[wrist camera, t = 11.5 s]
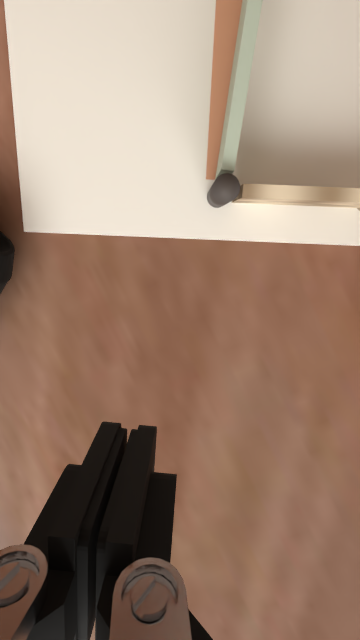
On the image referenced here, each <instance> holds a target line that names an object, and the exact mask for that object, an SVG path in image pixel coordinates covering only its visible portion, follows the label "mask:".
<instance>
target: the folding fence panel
mask: <svg viewBox="0 0 360 640" xmlns="http://www.w3.org/2000/svg"><path fill="white" fill-rule="evenodd" d="M262 1H263V0H242V6H241V13H240V19H239V26H238V32H237V39H236V46H235V52H234V59H233V65H232V72H231V78H230V85H229V91H228V98H227V105H226V111H225V118H224V124H223V131H222V137H221V144H220V150H219V157H218V164H217V170H216V177H215V180H216V178H217V177H218V176H220V175H221V174H224V173H230V174H232V173H233V172H234V170H235V164H236V158H237V152H238V146H239V140H240V134H241V128H242V121H243V115H244V109H245V103H246V97H247V91H248V85H249V79H250V73H251V67H252V61H253V55H254V49H255V43H256V37H257V31H258V25H259V19H260V13H261V7H262Z"/></svg>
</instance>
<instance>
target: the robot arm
mask: <svg viewBox="0 0 360 640" xmlns="http://www.w3.org/2000/svg"><path fill="white" fill-rule="evenodd" d="M156 434H157V427H155V426H145V425H139V427H138V430H135V429H132V430H131V433H130V436H129V439H128V442H127V429H124V428H121V423H112V422H102V424H101V426H100V428H99V430H98V432H97V434H96V436H95V438H94V440H93V442H92V444H91V447H90V449H89V451H88V453H87V455H86V457H85V459H84V461H83V463H82V465H74V464H69V465H67V466H66V468H65V469H64V471H63V473H62V475H61V477H60V478H59V480H58V482H57V484H56V486H55V488H54V489H53V491H52V493H51V495H50V497H49V499H48V500H47V502H46V504H45V506H44V508H43V510H42V512H41V513H40V515H39V517H38V519H37V521H36V523H35V524H34V526H33V528H32V530H31V532H30V534H29V535H28V537H27V539H26V541H25V543H24V545H23V544H20V545H14V546H9V547H7V548H4V549H2V550H0V640H90V637H91V634H92V630H93V626H94V622H95V618H96V625H95V640H213V639H212V638H211V637H210V635H209V634H208V633H207V632H206V630H205V629H204V628H203V627H202V625H201V624H200V623H199V622H198V621H197V619H196V618H195V617H194V616H193V614H192V613H191V612H190V611H189V609H188V603H187V594H186V588H185V584H184V581H183V578H182V577H181V575H180V573H179V572H178V570H177V569H176V568H175V567H174V566H172V565H171V564H170V557H171V544H172V531H173V517H174V504H175V491H176V478H177V474H167V473H157V472H154V464H155V449H156Z"/></svg>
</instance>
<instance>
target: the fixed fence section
mask: <svg viewBox="0 0 360 640" xmlns="http://www.w3.org/2000/svg"><path fill="white" fill-rule="evenodd" d="M207 201H208V203H209V204H210V205H211V206H212V207H215V208H219V207H222V206H224V205H226V204H227V203H229V202H231V201H232V203H246V204H271V205H296V206H320V207H345V208H357V209H358V210H359V211H360V188H342V187H317V186H292V185H267V184H242V185H241V186H240V183H239V180H238V179H237V177H236V176H234V175H233V174H230V173H224V174H221V175H220V176H218V177H217V178H216V180H215V181H214V183H213V185H212V186H211V188H210V190H209V191H208V193H207Z"/></svg>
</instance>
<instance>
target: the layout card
mask: <svg viewBox="0 0 360 640" xmlns="http://www.w3.org/2000/svg"><path fill="white" fill-rule="evenodd" d="M4 4H5V16H6V28H7V40H8V51H9V63H10V75H11V86H12V98H13V110H14V122H15V133H16V145H17V157H18V168H19V180H20V192H21V203H22V215H23V227H24V232H42V233H66V234H90V235H114V236H138V237H162V238H186V239H210V240H234V241H258V242H282V243H306V244H330V245H353V246H360V211H359V210H358V209H357V208H345V207H320V206H296V205H271V204H246V203H232V201H231V202H229V203H227V204H226V205H224V206H222V207H219V208H215V207H212V206H211V205H210V204H209V203H208V201H207V193H208V191H209V190H210V188H211V186H212V185H213V183H214V181H215V177H216V170H217V164H218V157H219V150H220V144H221V137H222V131H223V124H224V118H225V111H226V105H227V98H228V91H229V85H230V78H231V72H232V65H233V59H234V52H235V46H236V39H237V32H238V26H239V19H240V13H241V6H242V0H4ZM232 174H233V175H234V176H236V177H237V179H238V180H239V183H240V186H241V185H242V184H267V185H292V186H317V187H342V188H360V0H263V1H262V7H261V13H260V19H259V25H258V31H257V37H256V43H255V49H254V55H253V61H252V67H251V73H250V79H249V85H248V91H247V97H246V103H245V109H244V115H243V121H242V128H241V134H240V140H239V146H238V152H237V158H236V164H235V170H234V172H233V173H232Z"/></svg>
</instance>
